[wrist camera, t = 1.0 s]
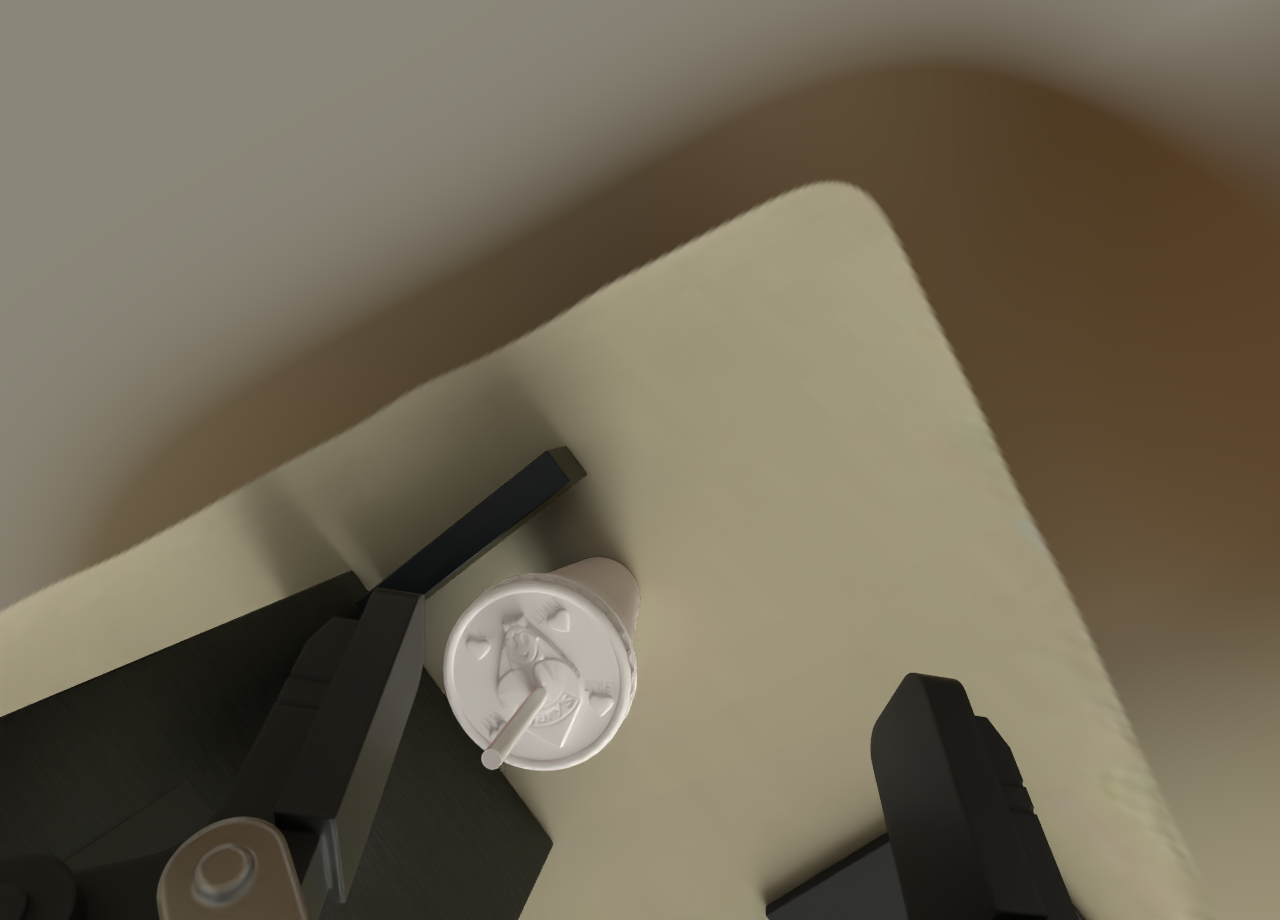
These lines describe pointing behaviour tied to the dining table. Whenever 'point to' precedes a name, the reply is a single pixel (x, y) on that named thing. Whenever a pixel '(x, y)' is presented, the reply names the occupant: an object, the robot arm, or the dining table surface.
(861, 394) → the dining table surface
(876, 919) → the placemat
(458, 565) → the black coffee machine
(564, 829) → the dining table surface
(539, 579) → the smoothie
